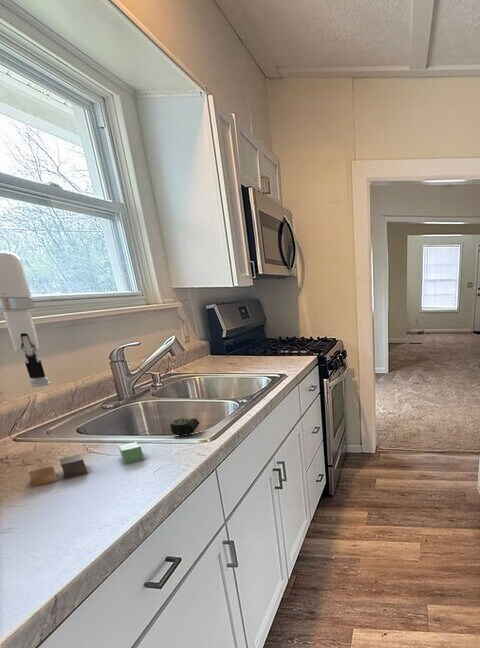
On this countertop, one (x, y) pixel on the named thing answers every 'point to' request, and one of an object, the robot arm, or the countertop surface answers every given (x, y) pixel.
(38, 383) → the rook chess piece
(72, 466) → the walnut block
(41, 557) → the countertop surface
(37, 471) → the maple block
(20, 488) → the countertop surface
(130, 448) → the sage block
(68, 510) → the countertop surface
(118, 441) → the countertop surface
